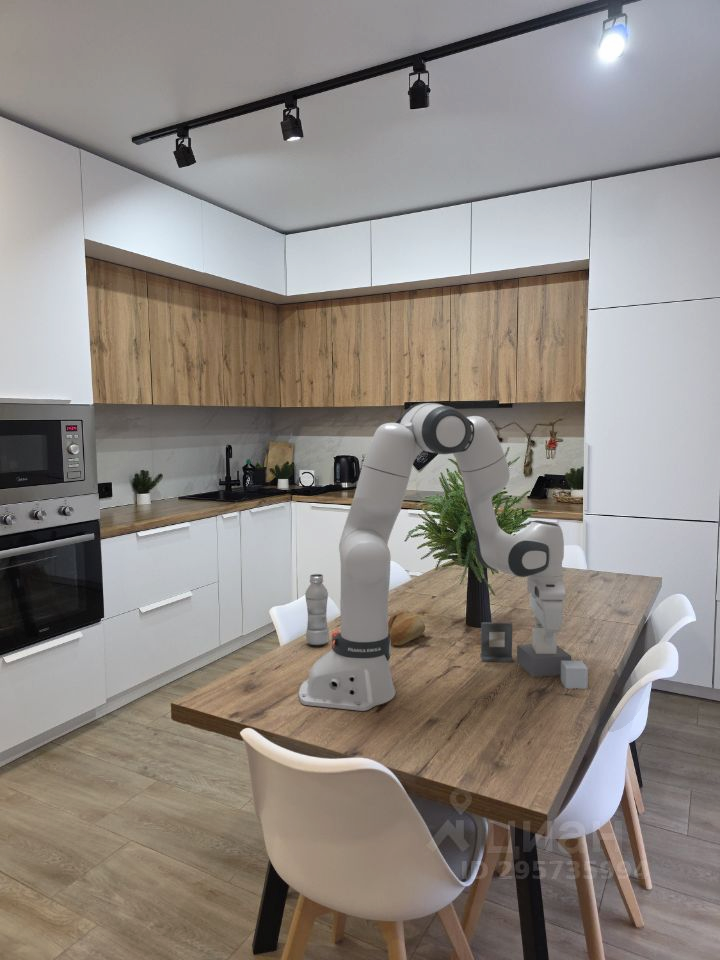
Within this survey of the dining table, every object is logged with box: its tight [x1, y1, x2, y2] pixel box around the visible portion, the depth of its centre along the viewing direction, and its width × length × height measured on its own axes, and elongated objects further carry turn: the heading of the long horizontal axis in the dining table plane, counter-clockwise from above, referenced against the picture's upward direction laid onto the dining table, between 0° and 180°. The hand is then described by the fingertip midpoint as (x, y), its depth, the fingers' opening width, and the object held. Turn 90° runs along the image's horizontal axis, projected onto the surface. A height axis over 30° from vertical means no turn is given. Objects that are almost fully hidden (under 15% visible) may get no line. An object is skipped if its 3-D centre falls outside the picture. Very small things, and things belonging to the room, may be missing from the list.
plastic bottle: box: [304, 573, 330, 646], centre depth 186 cm, size 6×7×20 cm
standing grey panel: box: [479, 622, 514, 663], centre depth 174 cm, size 8×4×10 cm, turn 87°
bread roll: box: [388, 611, 426, 646], centre depth 189 cm, size 10×15×8 cm, turn 149°
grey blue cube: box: [560, 660, 589, 690], centre depth 157 cm, size 5×5×5 cm
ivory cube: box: [531, 627, 558, 654], centre depth 167 cm, size 5×5×5 cm
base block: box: [516, 643, 572, 678], centre depth 167 cm, size 10×10×5 cm
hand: (543, 637), depth 167 cm, fingers open, 8 cm apart
